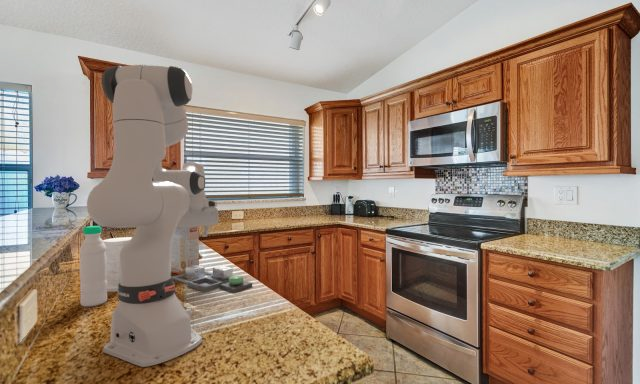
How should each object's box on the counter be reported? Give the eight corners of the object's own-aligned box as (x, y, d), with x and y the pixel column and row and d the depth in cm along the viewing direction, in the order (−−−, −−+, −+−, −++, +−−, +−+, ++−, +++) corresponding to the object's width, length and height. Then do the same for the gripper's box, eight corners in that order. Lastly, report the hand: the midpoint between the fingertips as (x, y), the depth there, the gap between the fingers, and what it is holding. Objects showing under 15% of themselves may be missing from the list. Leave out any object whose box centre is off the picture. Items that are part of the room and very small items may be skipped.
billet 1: (204, 279, 124) (204, 267, 124) (195, 282, 121) (195, 269, 121) (195, 276, 128) (194, 264, 128) (185, 279, 125) (185, 266, 125)
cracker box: (200, 273, 134) (199, 225, 134) (187, 277, 129) (186, 227, 129) (180, 269, 142) (179, 223, 142) (168, 272, 137) (167, 225, 136)
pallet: (239, 284, 119) (239, 277, 119) (204, 295, 107) (204, 287, 107) (222, 279, 126) (222, 272, 126) (187, 289, 114) (187, 281, 114)
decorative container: (119, 281, 124) (118, 236, 124) (145, 282, 123) (144, 237, 122) (93, 291, 113) (92, 241, 113) (122, 292, 111) (121, 242, 111)
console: (252, 289, 113) (252, 282, 113) (233, 296, 106) (233, 288, 106) (238, 285, 118) (238, 279, 118) (220, 291, 111) (219, 284, 111)
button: (246, 288, 112) (246, 276, 112) (234, 292, 108) (234, 280, 108) (237, 285, 115) (237, 274, 115) (226, 289, 111) (225, 277, 111)
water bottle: (93, 308, 97) (91, 228, 96) (74, 306, 98) (72, 227, 98) (112, 300, 104) (111, 225, 103) (94, 298, 105) (93, 224, 105)
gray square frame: (217, 279, 126) (217, 274, 126) (188, 287, 116) (188, 282, 116) (200, 274, 133) (200, 269, 133) (172, 281, 124) (172, 276, 124)
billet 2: (232, 281, 119) (232, 268, 119) (223, 283, 116) (223, 270, 116) (221, 278, 123) (221, 265, 123) (212, 280, 120) (212, 267, 120)
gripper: (172, 204, 114) (172, 242, 114) (220, 202, 130) (220, 235, 130) (163, 204, 118) (164, 240, 118) (211, 202, 134) (212, 234, 134)
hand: (194, 237), depth 124 cm, fingers open, 8 cm apart
